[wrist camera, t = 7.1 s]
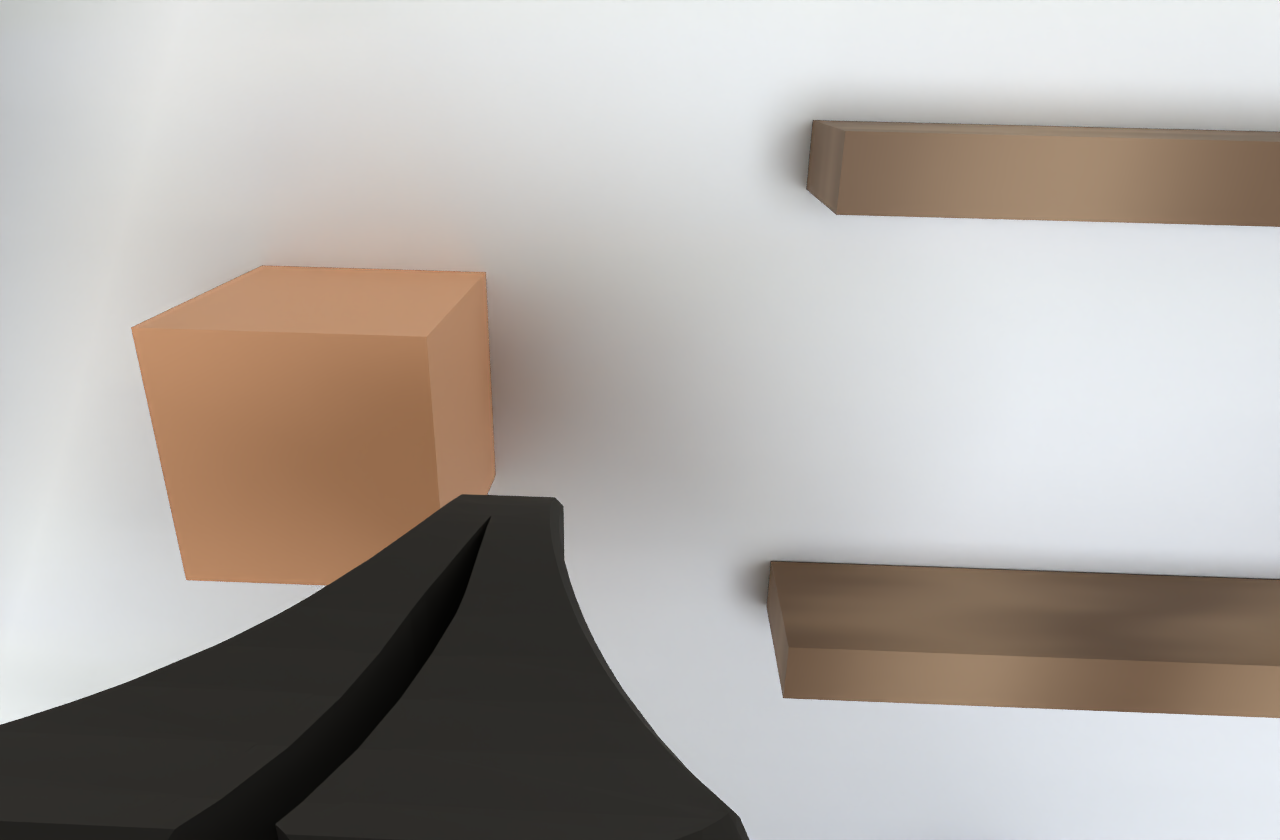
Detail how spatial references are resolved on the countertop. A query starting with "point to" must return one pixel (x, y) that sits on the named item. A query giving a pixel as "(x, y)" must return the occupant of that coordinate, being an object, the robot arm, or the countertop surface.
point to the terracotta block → (317, 415)
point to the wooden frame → (1013, 599)
